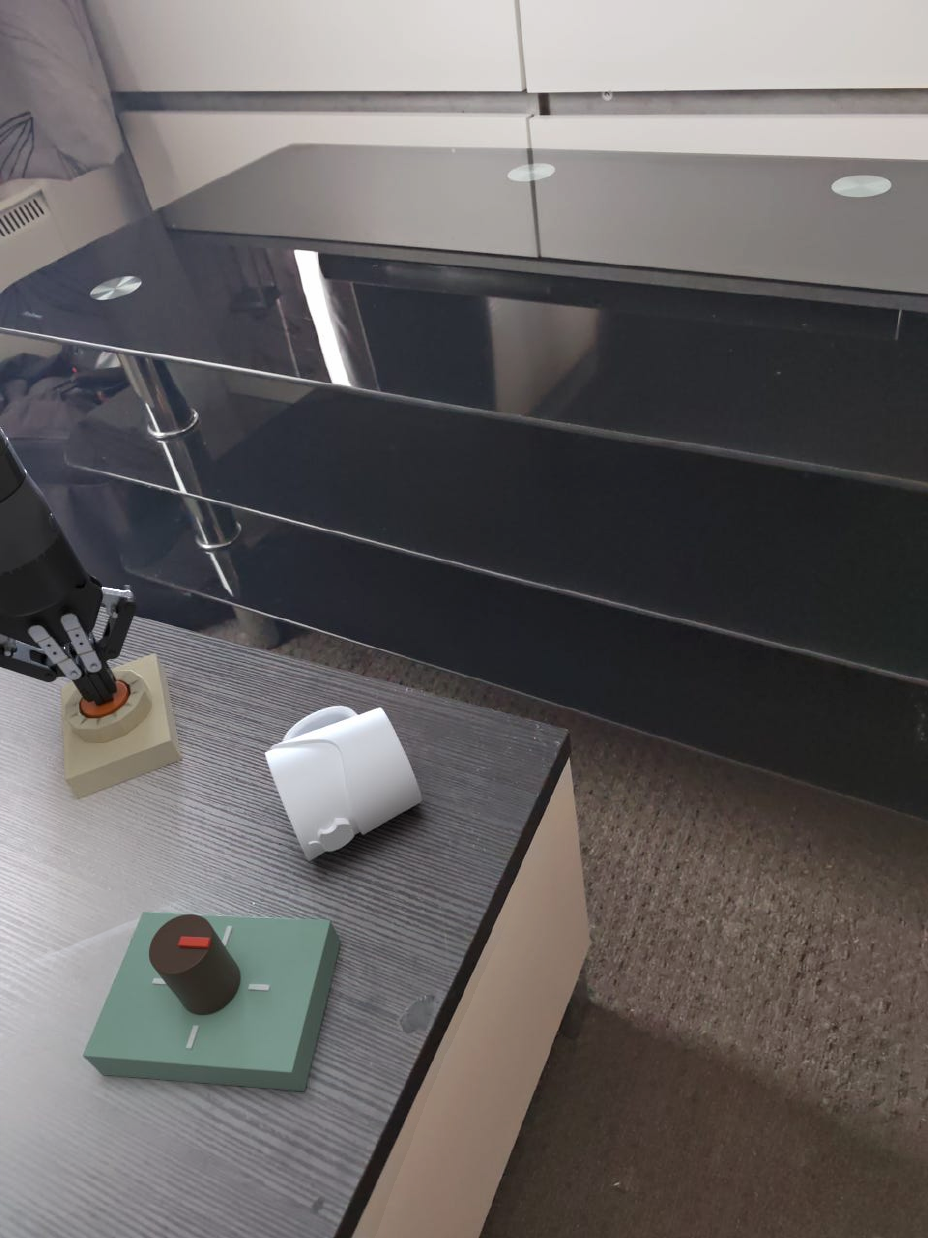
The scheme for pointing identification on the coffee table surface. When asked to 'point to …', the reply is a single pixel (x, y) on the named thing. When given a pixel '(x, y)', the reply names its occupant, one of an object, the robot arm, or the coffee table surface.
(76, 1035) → the coffee table surface
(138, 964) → the dial panel
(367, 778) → the mug
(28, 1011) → the coffee table surface
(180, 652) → the coffee table surface
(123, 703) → the orange push button
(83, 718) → the base
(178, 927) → the dial knob
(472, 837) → the coffee table surface
